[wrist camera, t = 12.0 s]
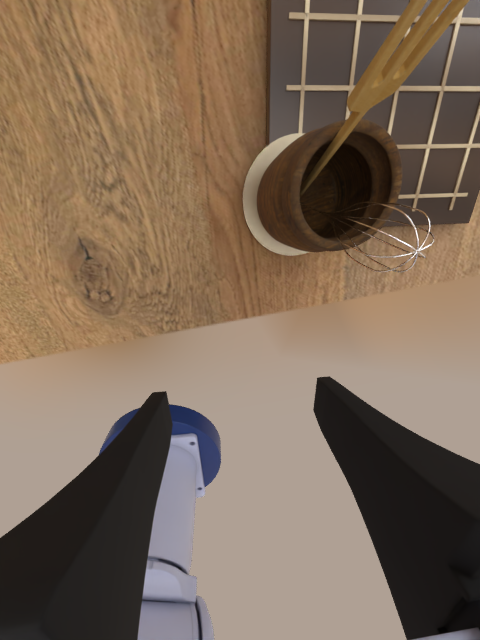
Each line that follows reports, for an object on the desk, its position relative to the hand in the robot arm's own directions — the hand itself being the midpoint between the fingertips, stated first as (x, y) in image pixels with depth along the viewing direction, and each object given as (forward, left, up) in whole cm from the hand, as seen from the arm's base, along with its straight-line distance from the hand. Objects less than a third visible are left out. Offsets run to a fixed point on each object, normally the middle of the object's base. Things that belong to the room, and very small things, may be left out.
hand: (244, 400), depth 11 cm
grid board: (+14, -10, -10) cm, 20 cm away
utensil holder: (+9, -5, -10) cm, 14 cm away
